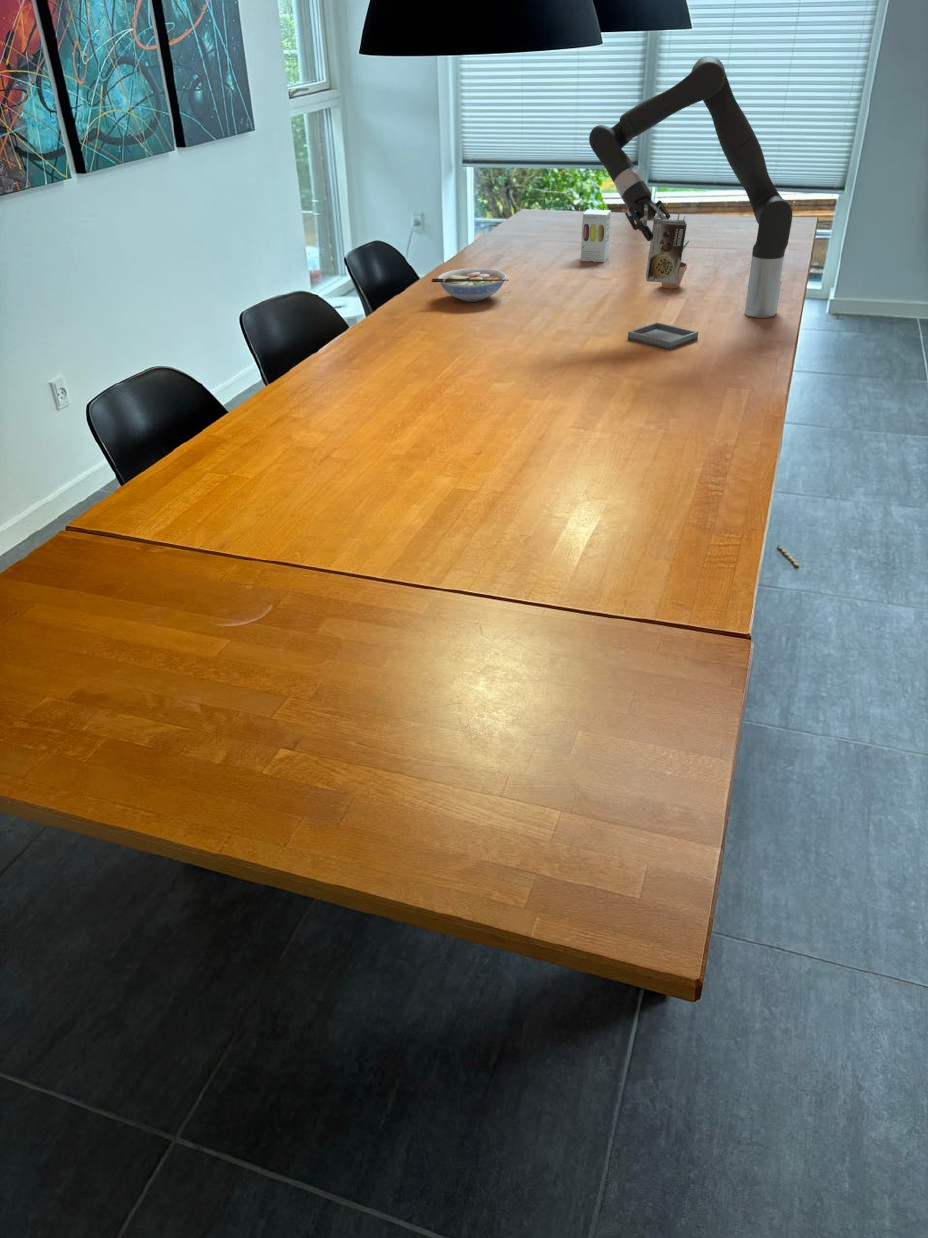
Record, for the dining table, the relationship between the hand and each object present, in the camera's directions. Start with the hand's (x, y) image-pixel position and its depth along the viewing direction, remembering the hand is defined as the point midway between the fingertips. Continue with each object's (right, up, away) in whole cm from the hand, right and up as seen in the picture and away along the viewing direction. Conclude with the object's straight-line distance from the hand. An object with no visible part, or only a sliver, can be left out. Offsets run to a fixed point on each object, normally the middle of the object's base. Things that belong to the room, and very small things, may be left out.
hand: (660, 236), depth 269 cm
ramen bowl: (-53, -2, +46) cm, 70 cm away
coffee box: (+1, -10, +6) cm, 12 cm away
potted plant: (+14, +4, +52) cm, 54 cm away
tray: (+1, -29, +3) cm, 29 cm away
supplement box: (-7, +27, +88) cm, 92 cm away
